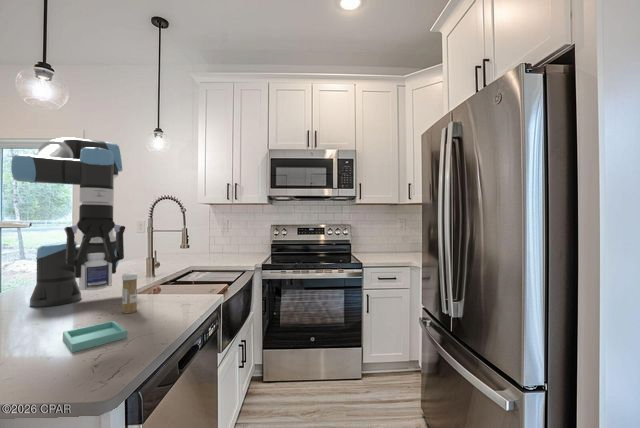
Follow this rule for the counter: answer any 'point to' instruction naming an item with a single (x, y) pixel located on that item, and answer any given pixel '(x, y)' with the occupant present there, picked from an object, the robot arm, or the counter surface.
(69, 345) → the tray
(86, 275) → the pill bottle
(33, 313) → the counter surface
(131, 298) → the sprinkles bottle
